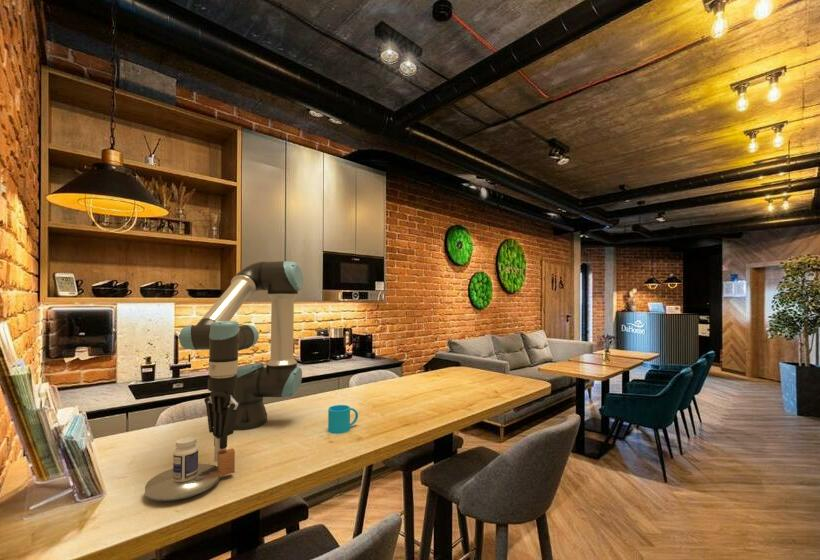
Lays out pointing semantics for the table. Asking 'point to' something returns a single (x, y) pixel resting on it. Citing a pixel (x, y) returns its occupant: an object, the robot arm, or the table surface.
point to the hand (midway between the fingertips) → (220, 459)
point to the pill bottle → (185, 460)
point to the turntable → (207, 477)
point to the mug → (340, 419)
